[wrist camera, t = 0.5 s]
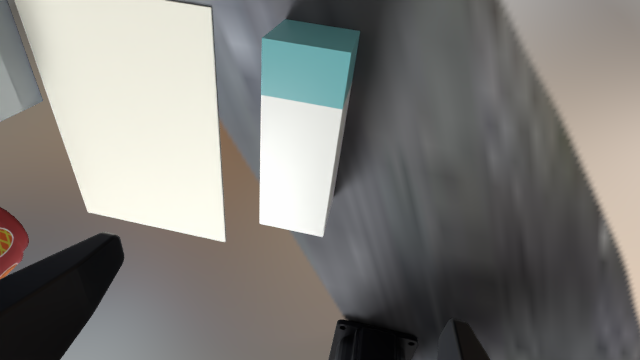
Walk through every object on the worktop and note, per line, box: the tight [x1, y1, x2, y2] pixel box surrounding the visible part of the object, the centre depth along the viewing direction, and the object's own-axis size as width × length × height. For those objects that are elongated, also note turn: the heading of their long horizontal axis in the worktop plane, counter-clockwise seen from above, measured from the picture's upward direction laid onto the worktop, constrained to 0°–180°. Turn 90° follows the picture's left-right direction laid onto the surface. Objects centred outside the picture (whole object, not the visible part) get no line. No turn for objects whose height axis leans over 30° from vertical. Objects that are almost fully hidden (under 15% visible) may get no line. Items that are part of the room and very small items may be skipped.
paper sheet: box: [14, 0, 226, 242], centre depth 23 cm, size 16×11×1 cm
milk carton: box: [260, 19, 360, 237], centre depth 19 cm, size 10×4×4 cm, turn 174°
